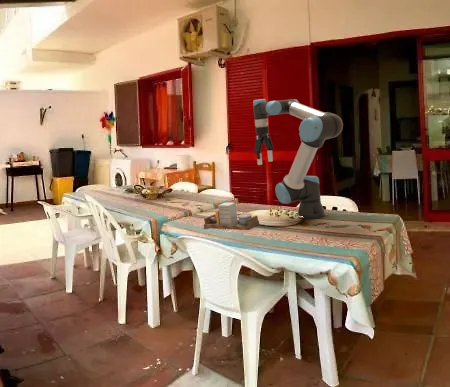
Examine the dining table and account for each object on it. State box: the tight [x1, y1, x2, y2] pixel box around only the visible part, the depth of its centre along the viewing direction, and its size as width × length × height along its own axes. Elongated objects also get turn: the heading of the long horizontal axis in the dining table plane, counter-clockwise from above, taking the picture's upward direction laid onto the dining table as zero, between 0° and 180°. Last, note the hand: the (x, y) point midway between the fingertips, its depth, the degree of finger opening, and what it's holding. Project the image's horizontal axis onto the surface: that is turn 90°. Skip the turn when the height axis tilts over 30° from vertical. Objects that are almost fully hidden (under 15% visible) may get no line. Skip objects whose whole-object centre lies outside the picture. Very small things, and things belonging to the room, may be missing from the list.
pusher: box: [215, 209, 220, 225], centre depth 249 cm, size 1×9×9 cm, turn 147°
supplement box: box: [217, 202, 238, 225], centre depth 247 cm, size 7×7×13 cm
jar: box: [237, 213, 253, 226], centre depth 241 cm, size 7×7×6 cm
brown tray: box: [203, 213, 260, 231], centre depth 247 cm, size 29×13×6 cm, turn 57°
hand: (265, 163), depth 258 cm, fingers open, 13 cm apart
